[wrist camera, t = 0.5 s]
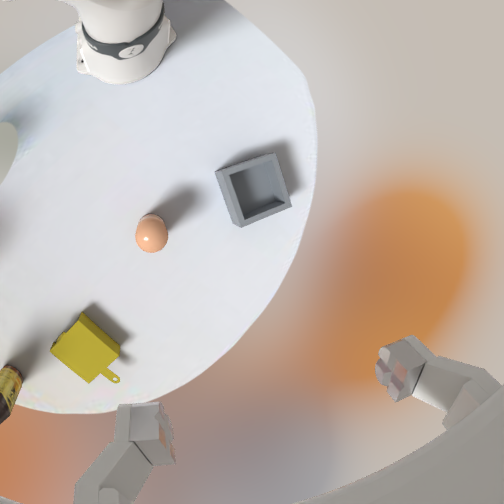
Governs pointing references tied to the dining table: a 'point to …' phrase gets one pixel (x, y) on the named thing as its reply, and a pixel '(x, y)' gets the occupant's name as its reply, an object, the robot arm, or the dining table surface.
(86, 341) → the yellow box with tab
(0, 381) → the sauce bottle
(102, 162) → the dining table surface
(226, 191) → the gray open box
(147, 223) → the canister
